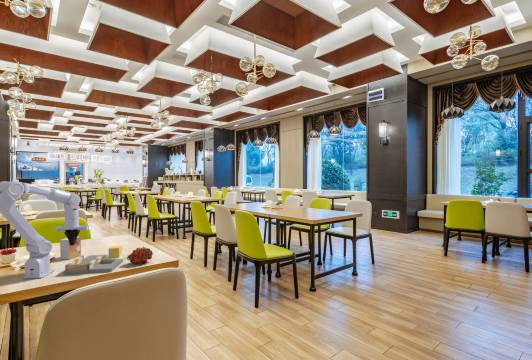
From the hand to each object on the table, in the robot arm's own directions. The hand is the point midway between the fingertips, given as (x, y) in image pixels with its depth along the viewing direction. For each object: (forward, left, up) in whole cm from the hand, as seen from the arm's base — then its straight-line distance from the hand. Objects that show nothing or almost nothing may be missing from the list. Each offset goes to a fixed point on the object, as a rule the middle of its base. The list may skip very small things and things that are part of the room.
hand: (72, 245), depth 145 cm
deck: (-2, -13, -10) cm, 16 cm away
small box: (+14, +8, -10) cm, 19 cm away
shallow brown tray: (-7, -9, -8) cm, 14 cm away
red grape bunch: (-3, -33, -10) cm, 34 cm away
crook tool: (+9, -27, -10) cm, 30 cm away
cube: (+6, -18, -8) cm, 21 cm away
